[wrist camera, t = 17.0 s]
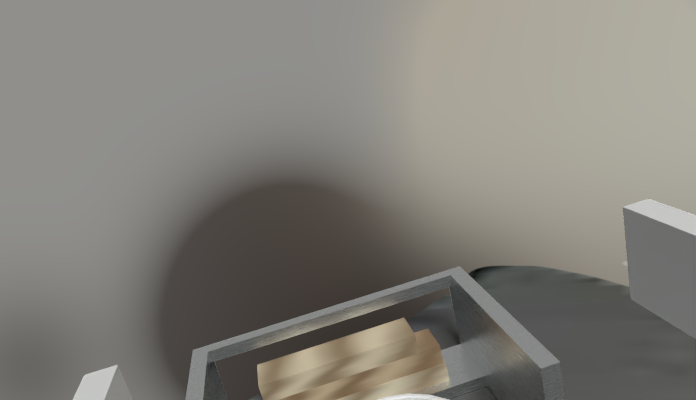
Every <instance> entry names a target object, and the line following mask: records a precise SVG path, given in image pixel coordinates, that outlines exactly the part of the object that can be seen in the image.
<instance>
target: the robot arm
mask: <svg viewBox="0 0 696 400" xmlns="http://www.w3.org/2000/svg"><path fill="white" fill-rule="evenodd" d="M623 214H624V226H625V238H626V249H627V262H628V273H629V286H630V298H631V299H632V300H633V301H635V302H637V303H638V304H640V305H641V306H643V307H645V308H646V309H648V310H650V311H651V312H653V313H654V314H656V315H658V316H659V317H661V318H662V319H664V320H666V321H667V322H669V323H670V324H672V325H674V326H675V327H677V328H679V329H680V330H682V331H683V332H685V333H687V334H688V335H690V336H691V337H693V338H695V339H696V215H694V214H691V213H688V212H685V211H682V210H679V209H677V208H674V207H671V206H668V205H665V204H662V203H660V202H657V201H653V200H651V199H646V200H643V201H640V202H637V203H634V204H630V205H627V206H624V207H623ZM73 400H133V399H132V396H131V394H130V392H129V389H128V387H127V385H126V382H125V380H124V378H123V375H122V373H121V371H120V368H119V366H118V365H115V366H112V367H109V368H105V369H102V370H99V371H95V372H93V373H89V374H86V375H84V377H83V379H82V381H81V383H80V385H79V387H78V389H77V392H76V394H75V396H74V398H73Z"/></svg>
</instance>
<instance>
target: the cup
mask: <svg viewBox="0 0 696 400" xmlns="http://www.w3.org/2000/svg"><path fill="white" fill-rule="evenodd" d="M378 400H449V399H445V398H441V397H437V396H433V395H426V394H402V395H394V396H388V397H384V398H381V399H378Z"/></svg>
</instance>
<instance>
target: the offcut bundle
mask: <svg viewBox="0 0 696 400" xmlns="http://www.w3.org/2000/svg"><path fill="white" fill-rule="evenodd" d="M257 371H258V386H259V389H260V392H261V395H262V398H263V400H378V399H381V398H384V397H388V396H394V395H402V394H411V393H414V392H417V391H419V390H422V389H425V388H428V387H431V386H434V385H437V384H440V383H443V382H446V381H449V376H448V371H447V366H446V363H445V361H444V360H443V358H442V353H441V349H440V345H439V344H438V342H437V341H436V339H435V338H434V337H433V335H432V334H431V332H430V331H429V329H425V330H422V331H419V332H416V333H414V332H413V331H412V329H411V327H410V326H409V324H408V323H407V321H406V320H405V318H401V319H398V320H395V321H392V322H389V323H386V324H383V325H380V326H377V327H373V328H370V329H367V330H364V331H361V332H358V333H355V334H351V335H348V336H345V337H342V338H340V339H336V340H333V341H330V342H327V343H324V344H321V345H317V346H314V347H311V348H308V349H305V350H302V351H299V352H296V353H293V354H289V355H287V356H283V357H280V358H277V359H274V360H271V361H268V362H265V363H262V364H258V365H257Z"/></svg>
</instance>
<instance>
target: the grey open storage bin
mask: <svg viewBox="0 0 696 400" xmlns="http://www.w3.org/2000/svg"><path fill="white" fill-rule="evenodd" d="M447 287H449V289H450V294H451V299H452V304H453V309H454V314H455V319H456V324H457V329H458V334H459V339H460V344H458V345H455V346H452V347H449V348H446V349H443V350H441V353H442V358H443V360H444V361H445V363H446V366H447V371H448V376H449V381H446V382H443V383H440V384H437V385H434V386H431V387H428V388H425V389H422V390H419V391H417V392H414V393H411V394H426V395H433V396H437V397H441V398H445V399H451V398H454V397H457V396H460V395H463V394H465V393H468V392H471V391H474V390H477V389H480V388H483V387H486V386H487V387H488V388H489V389H490V391H491V392H492V393H493V395H494V396H495V397H496V399H497V400H565V394H564V387H563V379H562V372H561V364H560V361H559V360H558V359H557V358H555V357H554V356H553V355H552V354H551V353H550V352H549V351H548V350H547V349H546V348H545V347H544V346H543V345H542V344H541V343H540V342H539V341H538V340H537V339H536V338H534V337H533V336H532V335H531V334H530V333H529V332H528V331H527V330H526V329H525V328H524V327H523V326H522V325H521V324H520V323H519V322H518V321H517V320H516V319H514V318H513V317H512V316H511V315H510V314H509V313H508V312H507V311H506V310H505V309H504V308H503V307H502V306H501V305H500V304H499V303H498V302H497V301H496V300H495V299H493V298H492V297H491V296H490V295H489V294H488V293H487V292H486V291H485V290H484V289H483V288H482V287H481V286H480V285H479V284H478V283H477V282H476V281H475V280H473V279H472V278H471V277H470V276H469V275H468V274H467V273H466V272H465V271H464V270H463V269H462V268H461V267H460V266H459V267H456V268H453V269H450V270H446V271H443V272H440V273H437V274H434V275H430V276H427V277H424V278H421V279H417V280H414V281H411V282H408V283H405V284H402V285H398V286H395V287H392V288H389V289H386V290H383V291H380V292H376V293H373V294H370V295H367V296H363V297H360V298H357V299H354V300H351V301H347V302H344V303H341V304H338V305H335V306H332V307H329V308H325V309H322V310H319V311H316V312H313V313H309V314H306V315H303V316H300V317H297V318H293V319H290V320H287V321H284V322H281V323H278V324H274V325H271V326H268V327H265V328H262V329H258V330H256V331H252V332H249V333H246V334H243V335H239V336H236V337H233V338H230V339H227V340H223V341H220V342H217V343H214V344H211V345H208V346H204V347H202V348H198V349H195V350H193V353H192V360H191V367H190V373H189V381H188V388H187V393H186V400H228V398H227V395H226V392H225V389H224V387H223V384H222V381H221V378H220V376H219V373H218V371H217V367H216V365H215V361H218V360H221V359H224V358H227V357H230V356H233V355H236V354H240V353H243V352H245V351H249V350H252V349H255V348H259V347H261V346H265V345H268V344H271V343H274V342H277V341H280V340H284V339H287V338H290V337H293V336H296V335H299V334H302V333H305V332H309V331H312V330H315V329H318V328H321V327H325V326H328V325H331V324H334V323H337V322H340V321H343V320H346V319H350V318H352V317H356V316H359V315H362V314H365V313H368V312H372V311H375V310H378V309H381V308H384V307H387V306H390V305H393V304H397V303H400V302H403V301H406V300H409V299H412V298H416V297H419V296H422V295H425V294H428V293H431V292H434V291H438V290H441V289H444V288H447Z"/></svg>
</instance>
